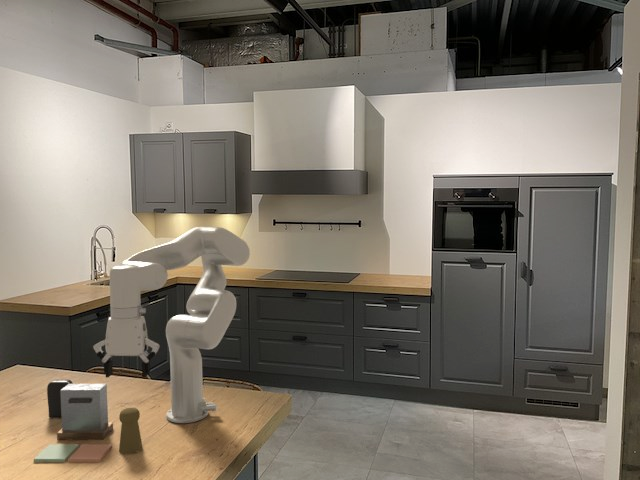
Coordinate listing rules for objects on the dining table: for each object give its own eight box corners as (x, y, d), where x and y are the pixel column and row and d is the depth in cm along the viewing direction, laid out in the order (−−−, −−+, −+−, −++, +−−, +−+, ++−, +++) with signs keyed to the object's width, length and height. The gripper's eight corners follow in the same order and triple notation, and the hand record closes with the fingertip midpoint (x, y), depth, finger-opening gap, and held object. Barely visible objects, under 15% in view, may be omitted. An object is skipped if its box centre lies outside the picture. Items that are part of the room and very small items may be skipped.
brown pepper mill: (114, 448, 146) (113, 409, 145) (136, 441, 150) (134, 403, 149) (124, 456, 142) (123, 416, 141) (146, 448, 146) (145, 409, 145)
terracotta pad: (111, 447, 147) (111, 444, 147) (99, 461, 139) (99, 458, 139) (82, 447, 147) (82, 444, 147) (68, 461, 139) (68, 458, 139)
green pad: (78, 447, 147) (78, 444, 147) (64, 461, 139) (64, 458, 139) (49, 447, 147) (49, 444, 147) (33, 462, 139) (33, 459, 139)
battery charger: (75, 413, 170) (74, 377, 169) (70, 418, 166) (69, 382, 165) (53, 413, 170) (51, 378, 169) (47, 418, 166) (45, 382, 165)
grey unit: (113, 428, 158) (111, 382, 157) (103, 439, 151) (101, 391, 150) (68, 429, 158) (66, 382, 157) (57, 439, 151) (55, 391, 150)
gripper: (162, 309, 146) (163, 371, 148) (98, 309, 146) (100, 371, 148) (154, 315, 139) (155, 380, 140) (86, 315, 139) (88, 380, 140)
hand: (127, 375), depth 144 cm, fingers open, 9 cm apart
